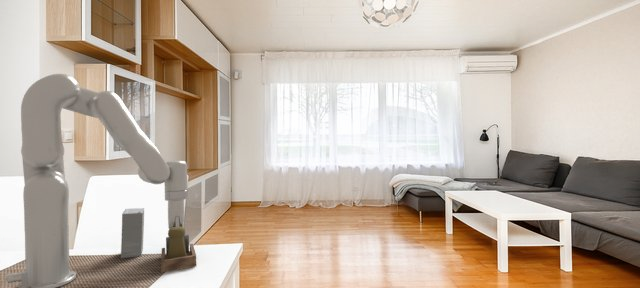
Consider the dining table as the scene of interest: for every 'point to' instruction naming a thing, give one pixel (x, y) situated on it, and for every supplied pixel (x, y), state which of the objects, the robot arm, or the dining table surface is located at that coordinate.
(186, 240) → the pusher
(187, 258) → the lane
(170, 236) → the cork
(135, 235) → the skincare box
